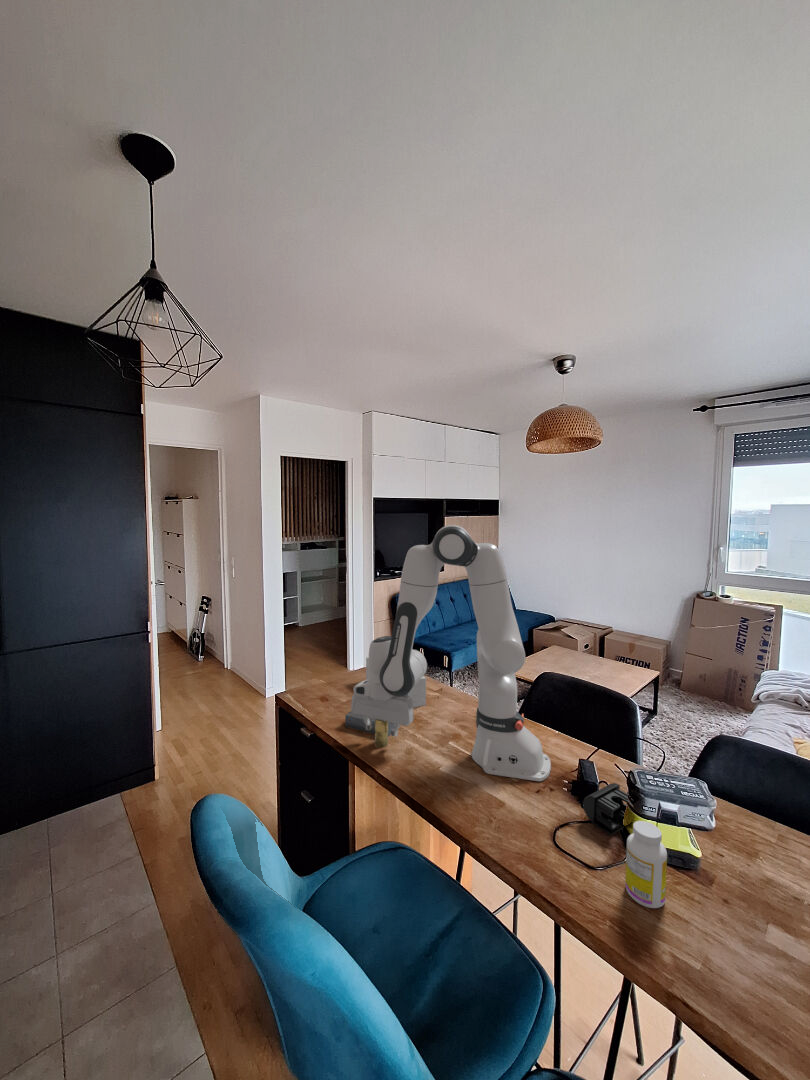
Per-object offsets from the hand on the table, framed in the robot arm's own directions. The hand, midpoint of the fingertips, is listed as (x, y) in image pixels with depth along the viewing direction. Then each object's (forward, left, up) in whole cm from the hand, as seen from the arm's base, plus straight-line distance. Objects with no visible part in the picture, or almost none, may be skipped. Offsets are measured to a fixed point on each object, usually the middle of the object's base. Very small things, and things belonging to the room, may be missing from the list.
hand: (381, 732), depth 135 cm
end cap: (-64, +7, -4) cm, 65 cm away
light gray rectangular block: (+14, -38, -4) cm, 41 cm away
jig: (+8, -11, -4) cm, 14 cm away
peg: (0, 0, -4) cm, 4 cm away
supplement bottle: (-70, +27, -4) cm, 75 cm away
